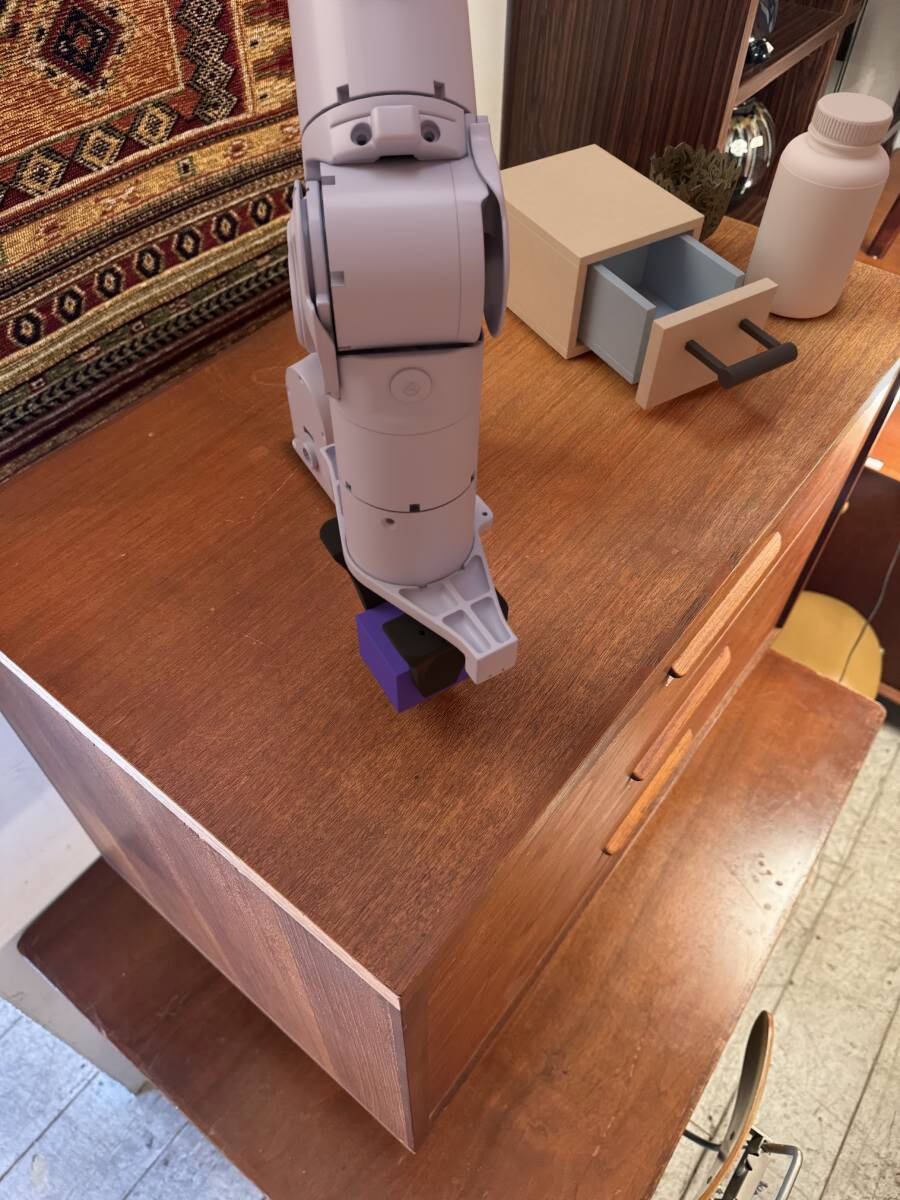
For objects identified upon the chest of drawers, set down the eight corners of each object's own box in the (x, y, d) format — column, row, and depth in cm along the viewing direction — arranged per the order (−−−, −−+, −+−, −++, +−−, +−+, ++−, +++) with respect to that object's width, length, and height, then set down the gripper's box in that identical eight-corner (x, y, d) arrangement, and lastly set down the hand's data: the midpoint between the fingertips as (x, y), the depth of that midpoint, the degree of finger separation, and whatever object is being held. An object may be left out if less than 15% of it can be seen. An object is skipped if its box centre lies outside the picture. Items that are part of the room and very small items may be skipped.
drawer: (798, 401, 63) (831, 320, 58) (690, 450, 60) (715, 368, 55) (646, 286, 72) (663, 207, 67) (545, 323, 69) (554, 242, 64)
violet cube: (398, 714, 45) (396, 677, 42) (359, 654, 47) (354, 615, 45) (469, 678, 47) (472, 639, 44) (428, 621, 49) (428, 581, 46)
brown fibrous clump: (672, 222, 81) (691, 133, 74) (734, 255, 77) (760, 165, 71) (616, 249, 78) (632, 158, 71) (679, 284, 74) (701, 192, 68)
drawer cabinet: (679, 316, 71) (705, 215, 65) (566, 360, 68) (580, 257, 61) (581, 241, 78) (594, 143, 72) (473, 276, 75) (477, 176, 68)
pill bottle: (827, 271, 76) (899, 86, 64) (844, 325, 71) (925, 134, 59) (736, 265, 76) (791, 80, 64) (746, 318, 71) (808, 127, 60)
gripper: (593, 539, 33) (554, 720, 43) (405, 340, 40) (411, 536, 51) (433, 615, 30) (434, 786, 41) (265, 388, 38) (303, 583, 49)
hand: (414, 651), depth 46 cm, fingers closed on violet cube, 4 cm apart
